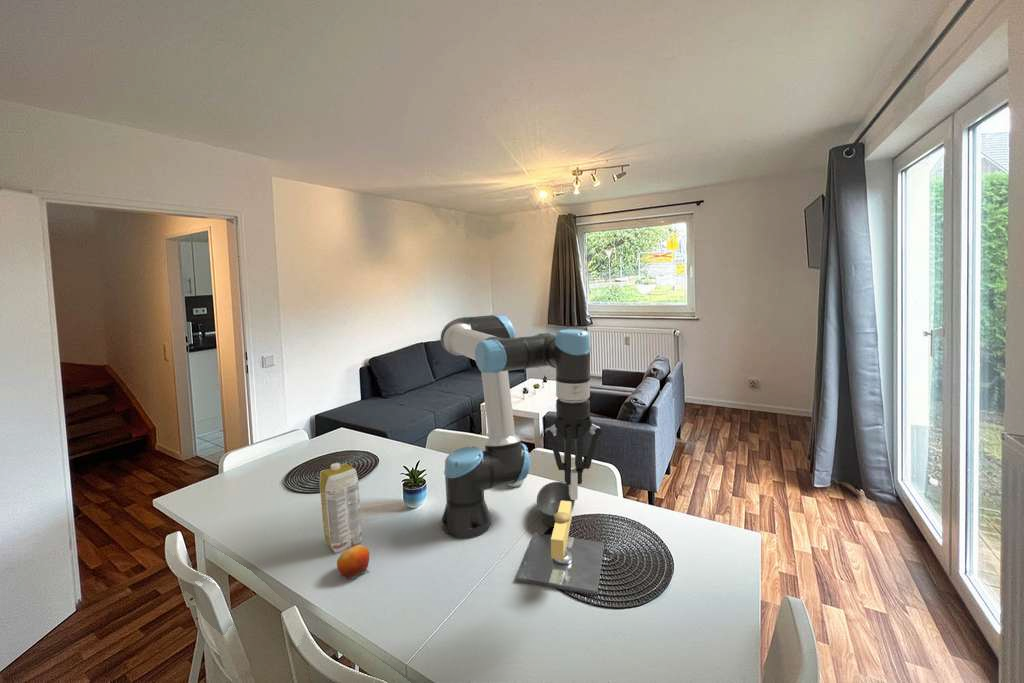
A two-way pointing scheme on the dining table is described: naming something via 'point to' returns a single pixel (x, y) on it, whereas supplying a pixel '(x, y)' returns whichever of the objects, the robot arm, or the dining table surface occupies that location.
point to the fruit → (353, 561)
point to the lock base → (563, 565)
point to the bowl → (552, 500)
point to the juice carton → (340, 506)
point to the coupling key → (561, 530)
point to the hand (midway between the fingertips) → (573, 496)
